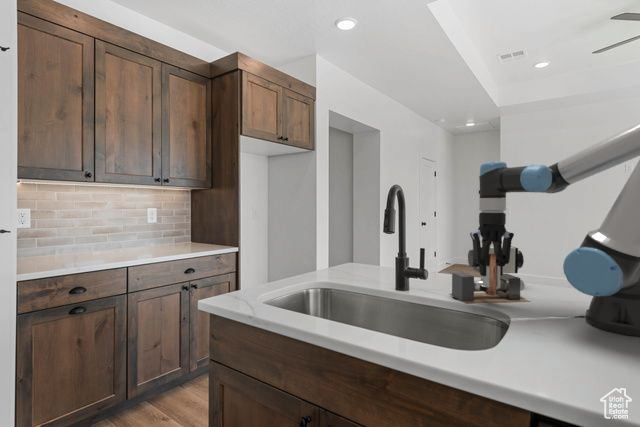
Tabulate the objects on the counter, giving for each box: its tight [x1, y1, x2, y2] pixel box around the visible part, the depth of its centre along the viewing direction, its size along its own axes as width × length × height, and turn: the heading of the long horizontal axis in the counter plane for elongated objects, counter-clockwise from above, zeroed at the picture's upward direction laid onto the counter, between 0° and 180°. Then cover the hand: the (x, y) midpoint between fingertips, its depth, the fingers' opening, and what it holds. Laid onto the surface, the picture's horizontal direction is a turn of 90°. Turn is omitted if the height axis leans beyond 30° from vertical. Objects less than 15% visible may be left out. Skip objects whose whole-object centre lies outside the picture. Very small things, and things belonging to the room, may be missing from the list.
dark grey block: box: [451, 271, 475, 302], centre depth 116 cm, size 7×4×8 cm, turn 5°
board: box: [449, 292, 531, 305], centre depth 117 cm, size 12×22×1 cm, turn 95°
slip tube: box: [474, 253, 526, 296], centre depth 113 cm, size 20×10×14 cm, turn 95°
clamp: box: [496, 273, 521, 300], centre depth 117 cm, size 7×4×7 cm, turn 5°
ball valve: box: [467, 244, 525, 281], centre depth 134 cm, size 18×8×18 cm, turn 84°
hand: (491, 285), depth 109 cm, fingers closed on slip tube, 3 cm apart
